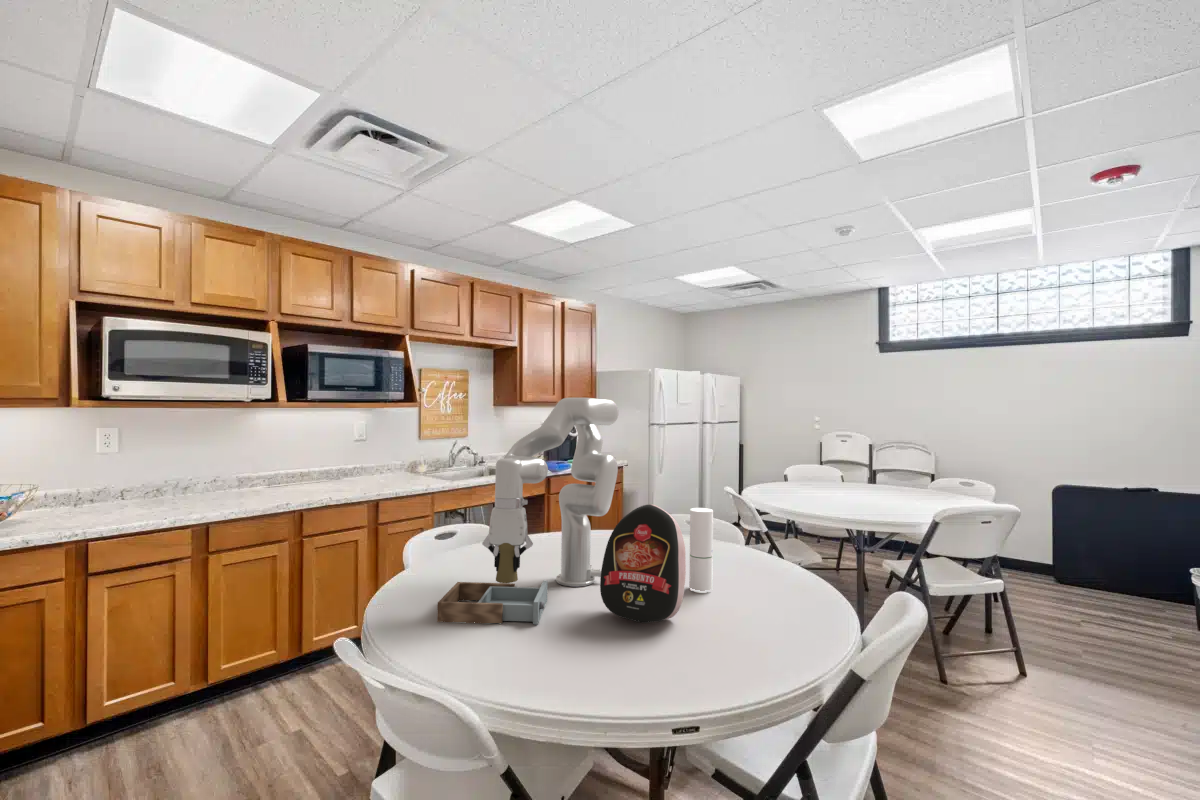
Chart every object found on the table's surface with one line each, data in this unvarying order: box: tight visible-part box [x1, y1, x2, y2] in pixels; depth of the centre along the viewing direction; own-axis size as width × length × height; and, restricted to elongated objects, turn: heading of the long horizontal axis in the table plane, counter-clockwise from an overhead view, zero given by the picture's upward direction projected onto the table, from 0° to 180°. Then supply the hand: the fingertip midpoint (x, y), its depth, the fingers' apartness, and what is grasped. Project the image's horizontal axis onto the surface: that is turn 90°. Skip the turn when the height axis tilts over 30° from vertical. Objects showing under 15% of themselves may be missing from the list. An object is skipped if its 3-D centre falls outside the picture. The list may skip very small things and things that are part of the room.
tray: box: [477, 580, 549, 625], centre depth 147 cm, size 18×18×6 cm
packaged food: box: [599, 503, 687, 624], centre depth 145 cm, size 22×20×30 cm
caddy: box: [436, 581, 516, 624], centre depth 148 cm, size 17×17×5 cm
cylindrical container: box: [688, 507, 714, 591], centre depth 168 cm, size 7×7×25 cm
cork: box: [495, 543, 519, 583], centre depth 147 cm, size 6×6×11 cm
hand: (507, 569), depth 147 cm, fingers closed on cork, 4 cm apart
